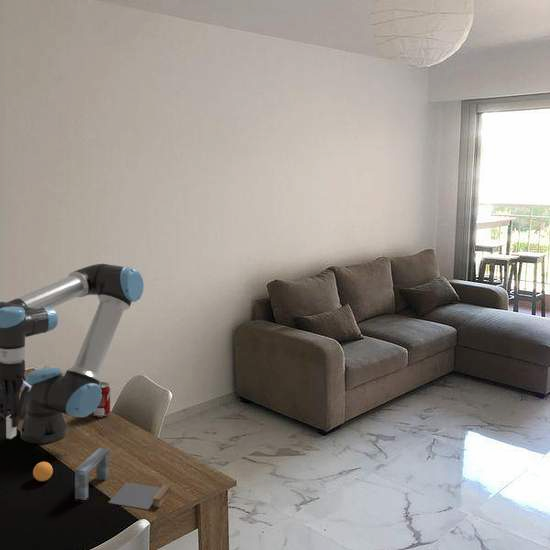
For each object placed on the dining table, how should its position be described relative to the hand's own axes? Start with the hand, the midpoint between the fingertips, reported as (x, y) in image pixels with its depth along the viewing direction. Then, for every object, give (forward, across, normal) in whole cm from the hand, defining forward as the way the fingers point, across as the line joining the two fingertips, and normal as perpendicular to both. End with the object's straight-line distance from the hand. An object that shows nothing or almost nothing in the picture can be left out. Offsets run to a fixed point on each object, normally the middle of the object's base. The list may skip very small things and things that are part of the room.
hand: (11, 436), depth 184 cm
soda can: (+12, +3, +50) cm, 52 cm away
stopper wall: (+12, +48, 0) cm, 49 cm away
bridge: (+12, +26, 0) cm, 29 cm away
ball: (+10, +10, 0) cm, 14 cm away
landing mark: (+12, +40, 0) cm, 42 cm away
